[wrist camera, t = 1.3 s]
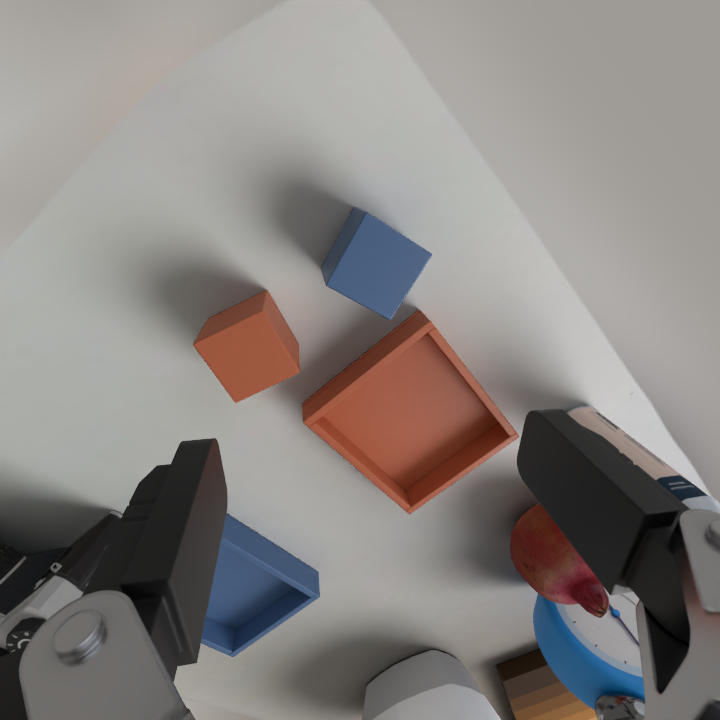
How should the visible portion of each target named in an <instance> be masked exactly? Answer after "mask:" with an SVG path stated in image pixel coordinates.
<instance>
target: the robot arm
mask: <svg viewBox="0 0 720 720" xmlns="http://www.w3.org/2000/svg"><path fill="white" fill-rule="evenodd" d="M517 467H518V471H519V474H520V476H521V478H522V480H523V481H524V483H525V484H526V485H527V487H528V488H529V489H530V491H531V492H532V493H533V495H534V496H535V497H536V499H537V500H538V501H539V502H540V504H541V505H542V506H543V508H544V509H545V510H546V512H547V513H548V514H549V516H550V517H551V518H552V520H553V521H554V522H555V524H556V525H557V526H558V527H559V529H560V530H561V531H562V533H563V534H564V535H565V537H566V538H567V539H568V541H569V542H570V543H571V545H572V546H573V547H574V548H575V550H576V551H577V552H578V554H579V555H580V556H581V558H582V559H583V560H584V562H585V563H586V564H587V566H588V567H589V568H590V570H591V571H592V572H593V573H594V575H595V576H596V577H597V579H598V580H599V581H600V583H601V584H602V585H603V587H604V588H605V589H606V591H607V592H608V593H609V595H616V594H622V593H627V592H634V593H635V595H636V596H637V597H638V598H639V601H638V603H637V606H636V621H637V630H638V639H639V648H640V658H641V667H642V676H643V685H644V694H645V714H644V720H720V513H718V512H714V511H710V510H704V509H690V508H689V507H687V506H686V505H685V504H684V503H682V502H681V501H680V500H679V499H678V498H676V497H675V496H674V495H673V494H672V493H670V492H669V491H668V490H667V489H666V488H664V487H663V486H662V485H661V484H660V483H658V482H657V481H656V480H655V479H654V478H652V477H651V476H650V475H649V474H648V473H646V472H645V471H644V470H643V469H642V468H640V467H639V466H638V465H634V464H633V461H632V460H631V459H630V458H628V457H627V456H626V455H625V454H624V453H620V452H619V449H618V448H616V447H615V446H614V445H613V444H612V443H610V442H609V441H608V440H607V439H606V438H604V437H603V436H601V435H599V434H598V433H596V432H594V431H592V430H590V429H588V428H586V427H584V426H582V425H580V424H579V423H578V422H577V421H575V420H574V419H573V418H572V417H571V416H570V415H568V414H567V413H566V412H565V411H564V410H562V409H546V410H535V411H530V412H529V413H528V414H527V416H526V419H525V424H524V428H523V433H522V437H521V441H520V446H519V450H518V455H517ZM129 503H130V504H129V506H127V508H126V510H125V512H124V514H123V516H122V518H121V523H119V524H118V526H117V528H116V530H115V532H114V533H113V535H112V537H111V539H110V541H109V543H108V545H107V547H106V549H105V551H104V553H103V555H102V557H101V559H100V561H99V563H98V565H97V567H96V569H95V571H94V573H93V575H92V577H91V579H90V581H89V583H88V585H87V587H86V589H85V591H84V592H83V594H82V596H81V597H80V598H78V599H76V600H74V601H72V602H70V603H69V604H67V605H66V606H64V607H63V608H61V609H60V610H58V611H57V612H56V613H55V614H53V615H52V616H51V617H50V618H49V619H48V620H47V621H46V622H45V623H44V624H43V625H42V626H41V627H40V628H39V629H38V630H37V632H36V633H35V634H34V635H33V637H32V638H31V640H30V641H29V643H28V644H27V645H26V646H24V647H22V648H20V649H17V650H15V651H13V652H11V653H9V654H6V655H4V656H1V657H0V720H195V718H194V717H193V715H192V713H191V711H190V710H189V709H187V708H186V706H185V704H184V703H183V701H182V699H181V697H180V695H179V693H178V691H177V689H176V687H175V685H174V683H173V682H174V678H175V674H176V670H177V666H181V665H187V664H193V663H197V659H198V654H199V649H200V644H201V639H202V634H203V629H204V624H205V619H206V614H207V609H208V604H209V599H210V594H211V589H212V584H213V579H214V574H215V569H216V564H217V559H218V554H219V549H220V544H221V539H222V534H223V529H224V524H225V519H226V513H227V487H226V481H225V476H224V471H223V466H222V461H221V455H220V450H219V445H218V442H217V440H216V439H215V438H213V439H202V440H191V441H182V442H181V443H180V445H179V447H178V449H177V451H176V454H175V456H174V458H173V461H172V463H171V464H169V465H158V466H156V467H155V468H154V469H153V470H152V471H151V472H150V473H149V474H148V475H147V476H146V477H145V478H144V479H143V480H142V481H141V482H140V483H139V484H138V486H137V488H136V490H135V492H134V494H133V496H132V498H131V500H130V502H129ZM614 720H631V718H630V717H629V716H628V717H623V718H619V719H614Z"/></svg>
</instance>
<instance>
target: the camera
mask: <svg viewBox="0 0 720 720" xmlns="http://www.w3.org/2000/svg"><path fill="white" fill-rule="evenodd" d="M121 518H122V515H121V514H120V513H119V512H116V511H110V512H109V513H108V514H107V515H106V516H104V517H103V518H102V519H101V520H99V521H98V522H97V523H96V524H95V525H93V526H92V527H91V528H90V529H89V530H87V531H86V532H85V533H84V534H82V535H81V536H80V537H79V538H78V539H76V540H75V541H74V542H73V543H72V544H70V545H69V546H68V547H65V548H60V549H54V550H49V551H44V552H38V553H33V554H29V555H28V556H27V557H26V556H22V554H21V553H19V552H18V551H17V550H15V549H14V548H13V547H11V546H10V547H9V546H8V545H7V544H4V545H2V544H1V543H0V657H1V656H4V655H6V654H9V653H11V652H13V651H15V650H17V649H20V648H22V647H24V646H26V645H27V644H28V643H29V641H30V640H31V638H32V637H33V635H34V634H35V633H36V632H37V630H38V629H39V628H40V627H41V626H42V625H43V624H44V623H45V622H46V621H47V620H48V619H49V618H50V617H51V616H52V615H53V614H55V613H56V612H57V611H58V610H60V609H61V608H63V607H64V606H66V605H67V604H69V603H70V602H72V601H74V600H76V599H78V598H80V597H81V596H82V594H83V592H84V591H85V589H86V587H87V585H88V583H89V581H90V579H91V577H92V575H93V573H94V571H95V569H96V567H97V565H98V563H99V561H100V559H101V557H102V555H103V553H104V551H105V549H106V547H107V545H108V543H109V541H110V539H111V537H112V535H113V533H114V532H115V530H116V528H117V526H118V524H119V523H121Z"/></svg>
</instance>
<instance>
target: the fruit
mask: <svg viewBox="0 0 720 720" xmlns="http://www.w3.org/2000/svg"><path fill="white" fill-rule="evenodd" d="M510 549H511V558H512V561H513V563H514V565H515V567H516V570H517V571H518V572H519V573H520V574H521V576H522V577H523V578H524V579H525V580H526V581H527V582H528V583H529V585H530V586H531V587H532V588H533V589H534V590H535V591H536V592H538V593H539V594H540V595H541V596H543V597H544V598H546V599H548V600H549V601H552V602H556V603H559V604H565V605H573V604H580V605H581V606H582V607H583V608H584V609H585V610H586V611H587V612H589V613H590V614H592V615H593V616H596V617H599V618H601V617H603V616H604V615H605V614H606V613H607V611H608V607H609V605H610V603H609V597H608V595H607V593H606V591H605V589H604V587H603V585H602V584H601V583H600V581H599V580H598V579H597V577H596V576H595V575H594V573H593V572H592V571H591V570H590V568H589V567H588V566H587V564H586V563H585V562H584V560H583V559H582V558H581V556H580V555H579V554H578V552H577V551H576V550H575V548H574V547H573V546H572V545H571V543H570V542H569V541H568V539H567V538H566V537H565V535H564V534H563V533H562V531H561V530H560V529H559V527H558V526H557V525H556V524H555V522H554V521H553V520H552V518H551V517H550V516H549V514H548V513H547V512H546V510H545V509H544V508H543V506H542V505H541V504H537V505H534V506H533V507H531V508H530V509H529V510H527V511H526V512H525V513H524V514H523V515H522V516H521V517H520V518H519V520H518V521H517V523H516V524H515V527H514V529H513V531H512V533H511V540H510Z"/></svg>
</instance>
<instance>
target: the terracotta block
mask: <svg viewBox="0 0 720 720" xmlns="http://www.w3.org/2000/svg"><path fill="white" fill-rule="evenodd" d="M193 345H194V347H195V348H196V350H197V351H198V352H199V354H200V355H201V356H202V358H203V359H204V361H205V362H206V363H207V365H208V366H209V367H210V369H211V370H212V371H213V373H214V374H215V376H216V377H217V378H218V380H219V381H220V382H221V384H222V385H223V387H224V388H225V389H226V391H227V392H228V393H229V395H230V396H231V397H232V399H233V400H234V402H235V403H237V402H239V401H241V400H243V399H245V398H247V397H249V396H251V395H253V394H256V393H258V392H260V391H262V390H264V389H266V388H268V387H270V386H272V385H274V384H277V383H279V382H281V381H283V380H285V379H287V378H289V377H291V376H293V375H295V374H298V373H299V372H300V363H299V344H298V342H297V340H296V338H295V337H294V335H293V333H292V331H291V330H290V328H289V326H288V325H287V323H286V321H285V319H284V318H283V316H282V314H281V312H280V311H279V309H278V307H277V305H276V304H275V302H274V300H273V299H272V297H271V295H270V293H269V292H268V290H266V291H264V292H262V293H259V294H257V295H255V296H253V297H251V298H249V299H247V300H245V301H243V302H241V303H239V304H237V305H235V306H233V307H231V308H229V309H227V310H225V311H223V312H221V313H219V314H217V315H214V316H212V317H210V318H208V320H207V322H206V323H205V325H204V326H203V328H202V330H201V331H200V333H199V335H198V336H197V338H196V340H195V341H194V343H193Z"/></svg>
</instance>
